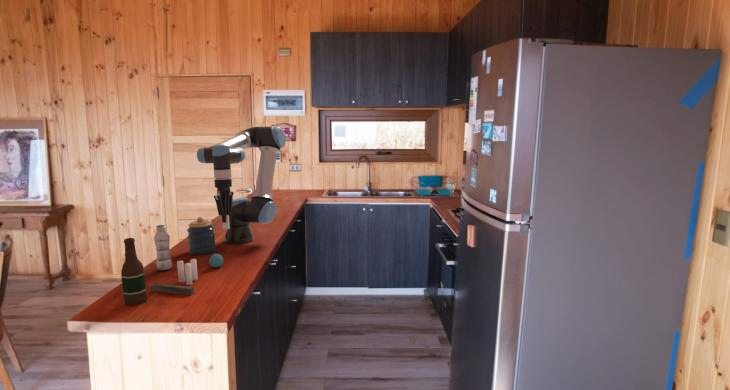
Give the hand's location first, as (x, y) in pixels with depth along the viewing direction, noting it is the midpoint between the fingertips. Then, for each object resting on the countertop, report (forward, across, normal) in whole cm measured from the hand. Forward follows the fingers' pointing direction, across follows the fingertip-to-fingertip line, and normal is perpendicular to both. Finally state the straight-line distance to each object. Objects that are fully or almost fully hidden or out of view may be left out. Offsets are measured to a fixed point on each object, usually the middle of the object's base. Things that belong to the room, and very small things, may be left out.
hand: (226, 228), depth 206 cm
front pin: (+16, +26, 0) cm, 30 cm away
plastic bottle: (+16, +18, -21) cm, 32 cm away
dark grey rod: (+16, +40, 0) cm, 43 cm away
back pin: (+16, +29, -4) cm, 33 cm away
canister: (+16, -10, -21) cm, 28 cm away
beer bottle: (+16, +51, -7) cm, 54 cm away
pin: (+16, +31, +1) cm, 34 cm away
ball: (+12, +10, 0) cm, 16 cm away
